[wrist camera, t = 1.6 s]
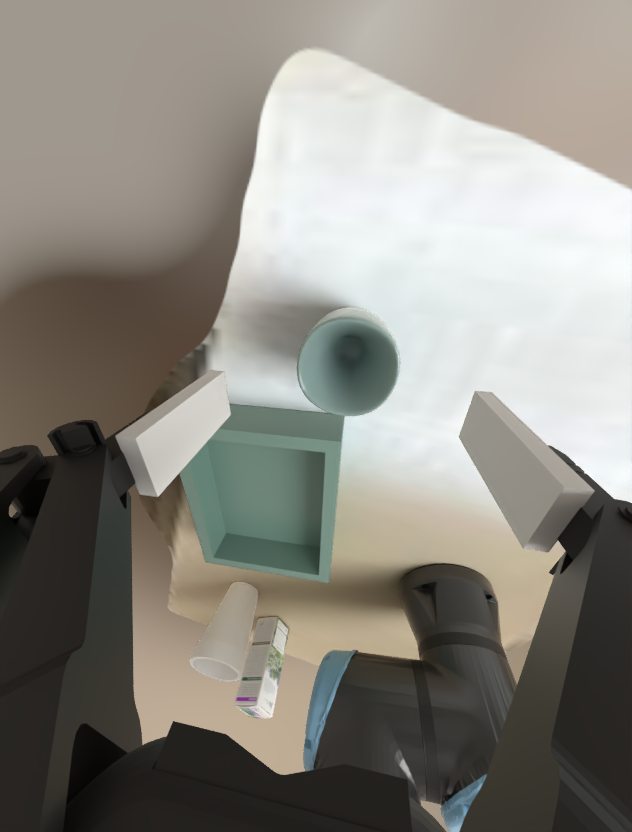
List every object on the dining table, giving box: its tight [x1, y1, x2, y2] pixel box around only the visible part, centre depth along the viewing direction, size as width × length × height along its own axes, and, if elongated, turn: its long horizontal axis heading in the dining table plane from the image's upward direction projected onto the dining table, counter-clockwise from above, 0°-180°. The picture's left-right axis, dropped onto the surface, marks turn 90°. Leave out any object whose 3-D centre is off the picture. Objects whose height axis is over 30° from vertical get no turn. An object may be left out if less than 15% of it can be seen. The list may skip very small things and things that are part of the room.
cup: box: [297, 307, 400, 416], centre depth 24 cm, size 8×8×10 cm
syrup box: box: [234, 617, 289, 718], centre depth 55 cm, size 6×6×14 cm
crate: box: [180, 404, 344, 583], centre depth 37 cm, size 26×20×6 cm
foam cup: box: [189, 582, 259, 682], centre depth 51 cm, size 10×9×13 cm
